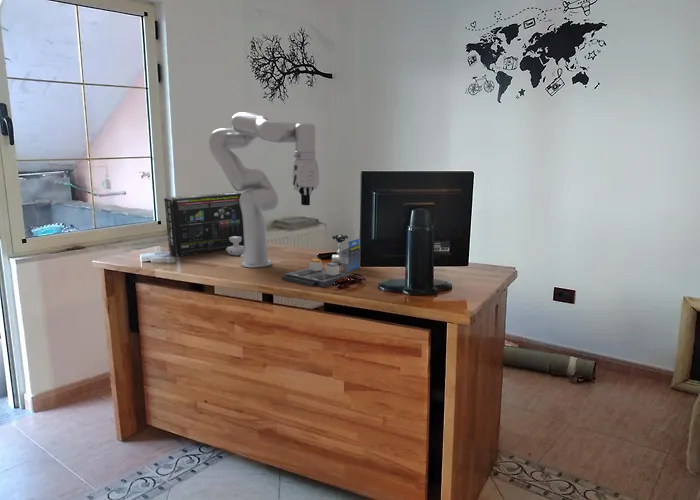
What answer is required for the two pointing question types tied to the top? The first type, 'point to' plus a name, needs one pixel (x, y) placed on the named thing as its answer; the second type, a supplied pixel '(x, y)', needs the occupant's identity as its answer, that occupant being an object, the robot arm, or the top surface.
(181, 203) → the router box
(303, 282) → the dark grey bar
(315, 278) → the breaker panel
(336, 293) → the top surface
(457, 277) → the top surface
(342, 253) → the label tape box
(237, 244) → the stamp
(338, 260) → the valve
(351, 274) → the back cord
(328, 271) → the grey-capped toggle
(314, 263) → the orange-capped toggle
